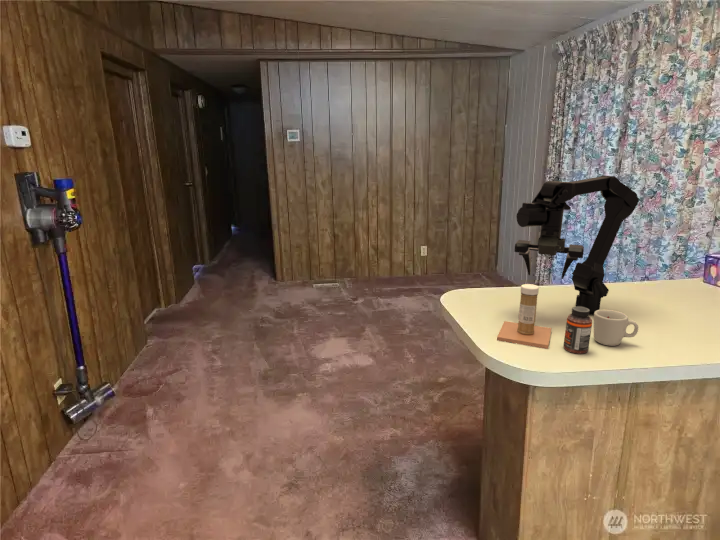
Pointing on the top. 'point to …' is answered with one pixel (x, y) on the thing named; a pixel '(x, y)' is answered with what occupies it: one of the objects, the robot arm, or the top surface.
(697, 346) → the top surface
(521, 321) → the sprinkles bottle
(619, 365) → the top surface
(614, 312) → the cup
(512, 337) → the terracotta tile
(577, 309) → the supplement bottle
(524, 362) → the top surface
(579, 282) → the robot arm
